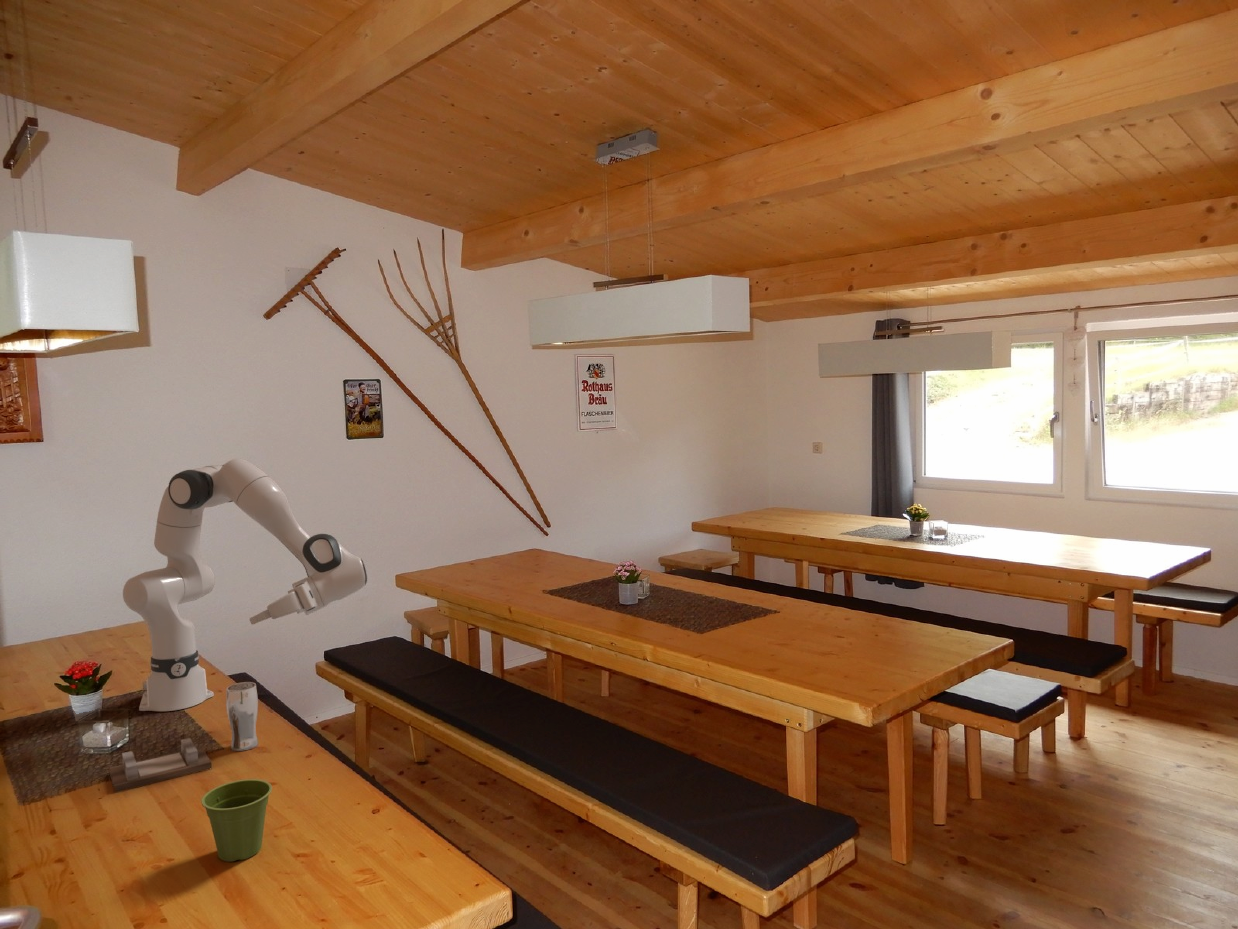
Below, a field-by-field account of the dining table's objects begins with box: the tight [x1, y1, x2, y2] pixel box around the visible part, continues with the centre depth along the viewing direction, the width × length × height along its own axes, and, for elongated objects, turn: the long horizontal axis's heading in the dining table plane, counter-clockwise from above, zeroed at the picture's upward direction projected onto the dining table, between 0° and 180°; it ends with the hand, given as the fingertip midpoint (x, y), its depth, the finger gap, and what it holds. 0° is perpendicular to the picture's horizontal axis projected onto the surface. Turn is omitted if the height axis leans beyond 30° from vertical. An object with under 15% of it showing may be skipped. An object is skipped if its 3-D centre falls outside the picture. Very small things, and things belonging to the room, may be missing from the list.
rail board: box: [108, 737, 212, 793], centre depth 188 cm, size 12×19×4 cm, turn 126°
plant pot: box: [200, 778, 273, 863], centre depth 152 cm, size 12×12×11 cm
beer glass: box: [226, 681, 259, 752], centre depth 201 cm, size 7×7×15 cm
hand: (250, 621), depth 204 cm, fingers open, 8 cm apart
